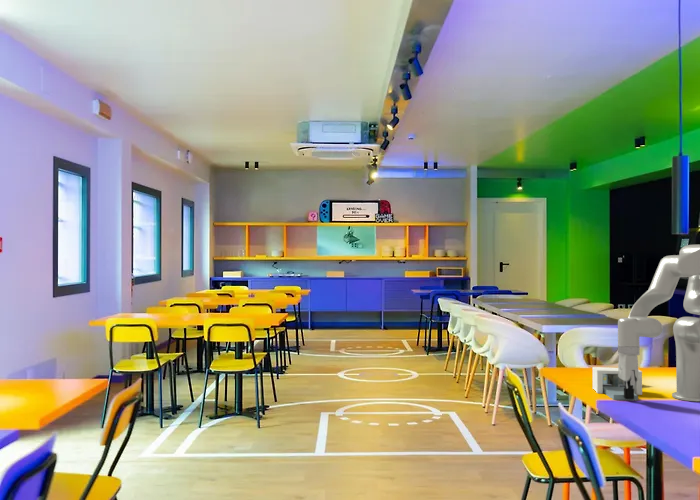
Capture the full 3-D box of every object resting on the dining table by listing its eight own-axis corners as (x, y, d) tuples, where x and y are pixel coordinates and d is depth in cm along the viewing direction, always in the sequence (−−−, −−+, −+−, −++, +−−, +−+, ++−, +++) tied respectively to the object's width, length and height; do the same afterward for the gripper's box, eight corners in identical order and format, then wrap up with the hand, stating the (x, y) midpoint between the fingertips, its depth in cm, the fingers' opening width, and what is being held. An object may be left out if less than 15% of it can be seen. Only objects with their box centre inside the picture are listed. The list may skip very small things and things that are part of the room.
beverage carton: (592, 386, 259) (592, 370, 259) (624, 382, 266) (624, 367, 267) (607, 389, 251) (607, 373, 251) (640, 385, 259) (640, 370, 259)
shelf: (635, 390, 248) (635, 368, 248) (642, 394, 240) (641, 371, 241) (592, 389, 251) (592, 367, 251) (597, 393, 243) (597, 370, 243)
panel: (624, 392, 246) (624, 387, 246) (638, 401, 230) (638, 395, 230) (601, 392, 247) (601, 386, 247) (613, 401, 231) (613, 394, 231)
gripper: (612, 347, 237) (612, 394, 237) (624, 353, 223) (624, 402, 222) (632, 348, 236) (633, 394, 236) (645, 353, 222) (646, 403, 221)
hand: (628, 398), depth 229 cm, fingers closed
